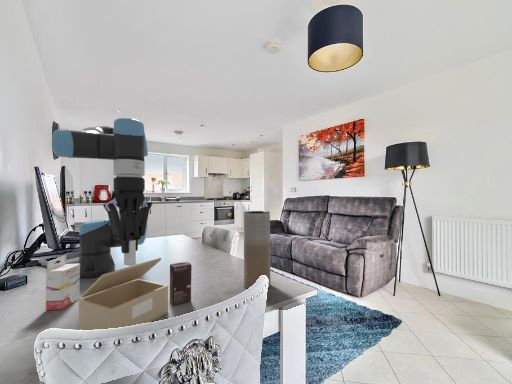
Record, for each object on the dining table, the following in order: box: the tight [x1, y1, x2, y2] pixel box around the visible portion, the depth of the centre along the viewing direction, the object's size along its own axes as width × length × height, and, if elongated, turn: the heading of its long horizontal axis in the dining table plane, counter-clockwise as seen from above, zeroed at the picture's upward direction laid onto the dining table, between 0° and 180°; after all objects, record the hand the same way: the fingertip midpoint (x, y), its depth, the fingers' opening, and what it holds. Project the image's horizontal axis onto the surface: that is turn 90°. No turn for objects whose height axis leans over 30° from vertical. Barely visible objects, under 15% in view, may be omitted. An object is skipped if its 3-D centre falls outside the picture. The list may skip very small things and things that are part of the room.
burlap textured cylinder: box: [243, 210, 271, 289], centre depth 92 cm, size 10×10×28 cm
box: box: [169, 261, 192, 306], centre depth 79 cm, size 6×4×12 cm
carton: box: [78, 278, 169, 330], centre depth 66 cm, size 13×17×8 cm
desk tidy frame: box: [38, 251, 80, 267], centre depth 127 cm, size 20×20×2 cm
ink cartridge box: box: [45, 255, 81, 311], centre depth 78 cm, size 9×5×15 cm, turn 5°
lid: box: [80, 257, 162, 299], centre depth 67 cm, size 11×17×1 cm
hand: (129, 264), depth 66 cm, fingers closed
